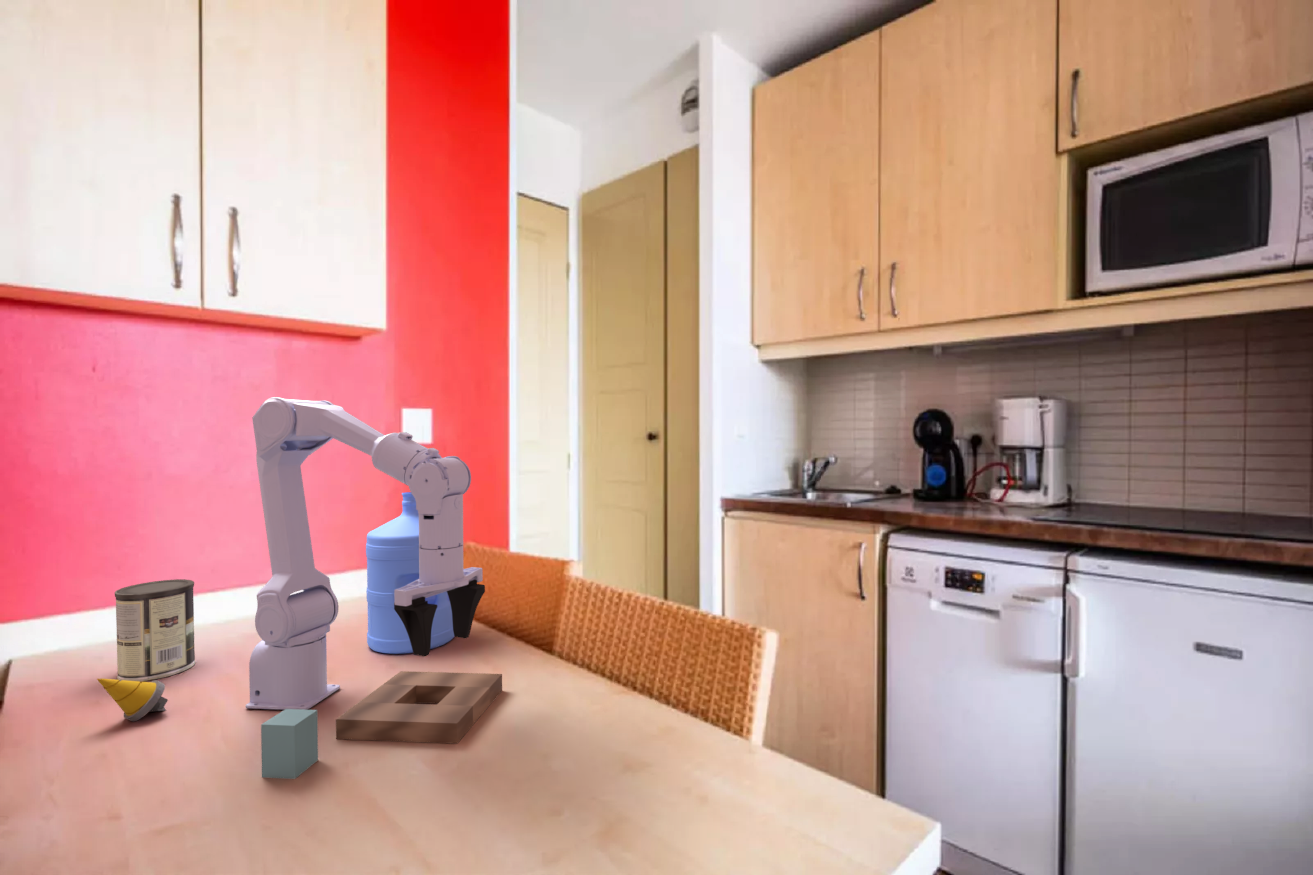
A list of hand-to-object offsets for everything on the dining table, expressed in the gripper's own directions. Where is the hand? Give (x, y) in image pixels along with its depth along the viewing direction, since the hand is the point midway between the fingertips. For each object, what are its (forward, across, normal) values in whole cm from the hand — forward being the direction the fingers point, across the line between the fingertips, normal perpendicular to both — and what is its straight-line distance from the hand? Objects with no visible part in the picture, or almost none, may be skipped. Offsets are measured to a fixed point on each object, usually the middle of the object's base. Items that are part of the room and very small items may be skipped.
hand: (442, 645), depth 84 cm
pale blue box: (+10, -17, +7) cm, 21 cm away
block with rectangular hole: (+10, 0, +3) cm, 10 cm away
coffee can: (+10, -5, +57) cm, 58 cm away
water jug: (+10, +23, +28) cm, 38 cm away
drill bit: (+10, -16, +39) cm, 43 cm away
